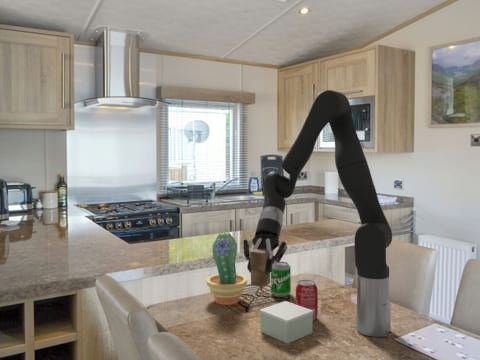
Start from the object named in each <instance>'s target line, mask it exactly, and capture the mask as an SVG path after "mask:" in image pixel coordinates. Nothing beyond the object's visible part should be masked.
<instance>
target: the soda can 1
mask: <svg viewBox="0 0 480 360" xmlns="http://www.w3.org/2000/svg"><path fill="white" fill-rule="evenodd" d="M291 267H292V266H291V265H290V264H289V263H288V262H287V261H280V262H274V263H273V266H272V271H271V272H270V293H271V294H272V295H273V296H274V297H278V298H285V297H288V296H289V295H290V294H291V286H292V285H291V283H292V282H291V277H292V276H291V273H292V272H291V270H292V269H291ZM284 296H285V297H284Z"/></svg>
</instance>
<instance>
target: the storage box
mask: <svg viewBox="0 0 480 360" xmlns="http://www.w3.org/2000/svg"><path fill="white" fill-rule="evenodd" d="M259 313H260V332H261V333H263V334H265V335H268V336H269V337H271V338H274V339H276V340H278V341H281V342H283V343H285V344H290V343H292V342H294V341H296V340H299V339H301V338H303V337H306V336H309V335H311V334H313V321H312V314H313V310H310V309H307V308H304V307H302V306H299V305H296V303H292V302H291V301H290V302H289V301H287V300H284V301H281V302H279V303H275V304H272V305H269V306H267V307H264V308H261V309H259Z"/></svg>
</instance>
